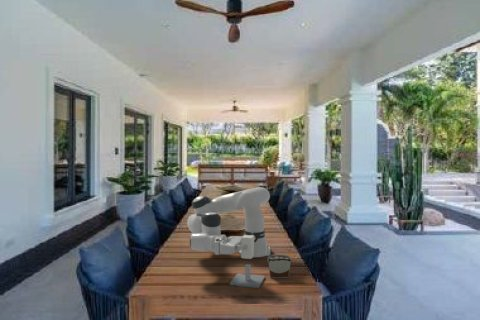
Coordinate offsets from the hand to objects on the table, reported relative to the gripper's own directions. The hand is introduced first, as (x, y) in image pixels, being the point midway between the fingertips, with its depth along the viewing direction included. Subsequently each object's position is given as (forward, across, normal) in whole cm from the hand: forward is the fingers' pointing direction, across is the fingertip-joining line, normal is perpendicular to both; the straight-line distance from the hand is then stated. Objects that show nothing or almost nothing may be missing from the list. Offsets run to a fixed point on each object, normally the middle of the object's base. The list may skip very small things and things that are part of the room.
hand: (248, 245), depth 199 cm
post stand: (0, 0, -18) cm, 18 cm away
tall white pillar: (0, 0, -6) cm, 6 cm away
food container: (+13, -12, -18) cm, 25 cm away
